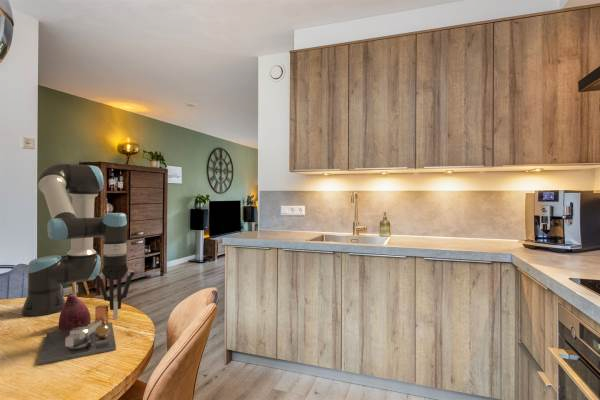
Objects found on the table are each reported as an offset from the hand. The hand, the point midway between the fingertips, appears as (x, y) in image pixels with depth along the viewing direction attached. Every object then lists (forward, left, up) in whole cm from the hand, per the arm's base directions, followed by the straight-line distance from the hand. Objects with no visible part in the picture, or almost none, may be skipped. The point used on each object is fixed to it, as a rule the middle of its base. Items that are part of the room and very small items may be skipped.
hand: (115, 317), depth 126 cm
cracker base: (+6, -11, -5) cm, 13 cm away
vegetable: (-13, -13, -5) cm, 19 cm away
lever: (+8, -8, -2) cm, 12 cm away
